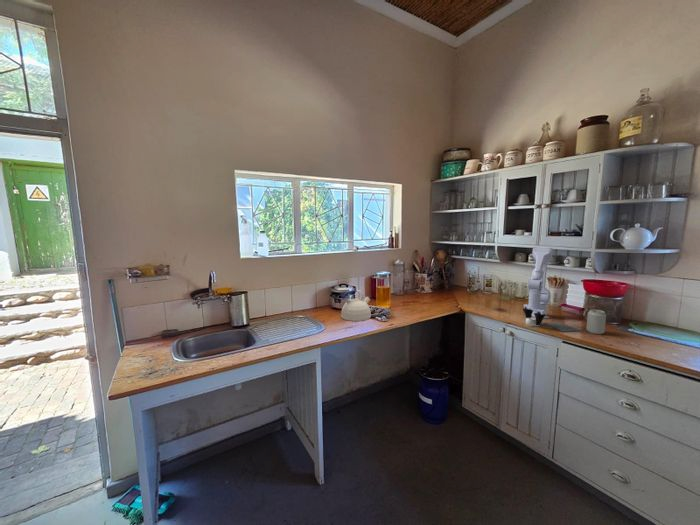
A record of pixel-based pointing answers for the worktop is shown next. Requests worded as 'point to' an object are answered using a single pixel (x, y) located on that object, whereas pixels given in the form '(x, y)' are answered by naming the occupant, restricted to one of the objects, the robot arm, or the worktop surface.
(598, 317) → the can
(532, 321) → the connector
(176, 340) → the worktop surface
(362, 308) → the kettle
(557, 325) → the mat
